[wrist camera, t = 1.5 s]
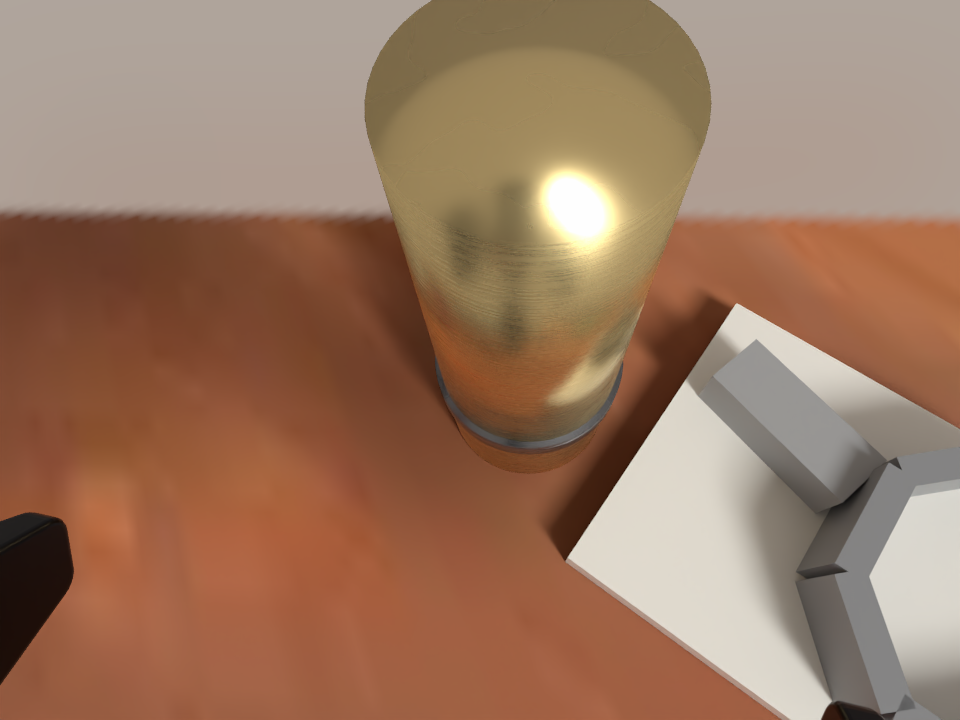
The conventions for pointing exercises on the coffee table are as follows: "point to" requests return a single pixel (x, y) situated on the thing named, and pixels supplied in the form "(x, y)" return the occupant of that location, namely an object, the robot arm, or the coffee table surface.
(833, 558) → the coupling stand
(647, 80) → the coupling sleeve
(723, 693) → the coffee table surface
